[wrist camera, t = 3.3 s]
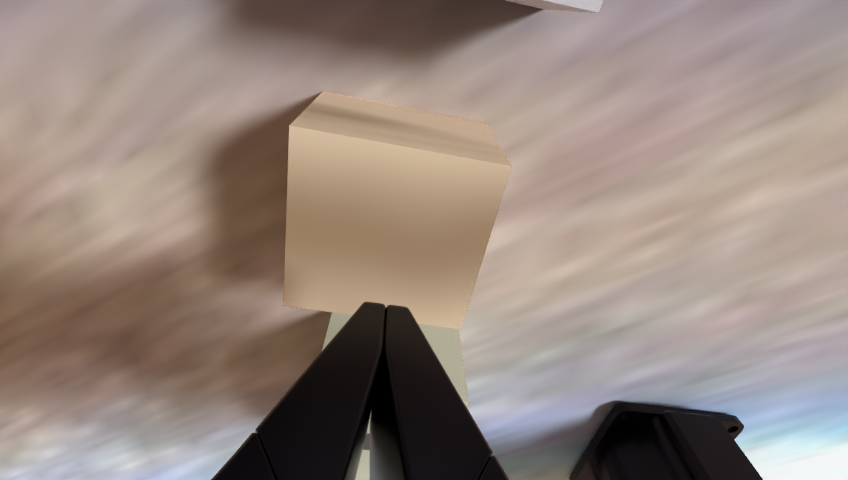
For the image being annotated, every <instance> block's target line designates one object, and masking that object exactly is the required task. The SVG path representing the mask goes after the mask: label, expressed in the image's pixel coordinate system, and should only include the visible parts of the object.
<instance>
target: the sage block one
mask: <svg viewBox="0 0 848 480" xmlns="http://www.w3.org/2000/svg"><path fill="white" fill-rule="evenodd" d="M351 316H352V315H349V314H341V313H334V312H332V314H331V318H330V322H329V325H328V329H327V333H326V337H325V341H324V345H323V349H324V348H325V347H326V346H327V345H328V343H329V342H330V341H331V340H332V339H333V338H334V336H335V335H336V334H337V333H338V332H339V331H340V329H341V328H342V327H343V326H344V325H345V323H346V322H347V321H348V320H349V319H350V318H351ZM418 325H419V327H420V329H421V330H422V332H423V334H424V335H425V337H426V339H427V341H428V342H429V344H430V346H431V347H432V349H433V351H434V352H435V354H436V356H437V358H438V359H439V361H440V363H441V364H442V366H443V368H444V370H445V371H446V373H447V375H448V376H449V378H450V380H451V382H452V383H453V385H454V387H455V388H456V390H457V392H458V394H459V395H460V397H461V399H462V400H463V402H464V404H465V406H466V407H467V405H468V402H469V399H468V392H467V385H466V377H465V370H464V363H463V356H462V349H461V342H460V334H459V329H454V328H446V327H439V326H431V325H424V324H418ZM323 349H322V351H323ZM370 416H371V414H370ZM369 436H370V419H369V424H368V429H367V433H366V438H365V442H364V446H363V450H362V454H361V458H360V462H359V466H358V470H357V474H356V478H355V480H370V442H369V441H370V440H369Z"/></svg>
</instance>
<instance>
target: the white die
mask: <svg viewBox="0 0 848 480" xmlns="http://www.w3.org/2000/svg"><path fill="white" fill-rule="evenodd" d="M505 1H509V2H514V3H518V4H522V5H527V6H531V7H536V8H540V9H547V10H563V11H579V12H595V13H599V10H600V7H601V4H602V2H603V0H505Z"/></svg>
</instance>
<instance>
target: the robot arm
mask: <svg viewBox="0 0 848 480" xmlns="http://www.w3.org/2000/svg"><path fill="white" fill-rule="evenodd" d="M370 414H371V416H370ZM369 419H370V436H369V440H370V441H369V442H370V480H509V479H508V477H507V475H506V474H505V472H504V470H503V469H502V467H501V465H500V463H499V462H498V460H497V458H496V457H495V456H492V450H491V448H490V447H489V445H488V443H487V441H486V440H485V438H484V436H483V435H482V433H481V431H480V429H479V428H478V426H477V424H476V423H475V421H474V419H473V417H472V416H471V414H470V412H469V411H468V409H467V407H466V406H465V404H464V402H463V400H462V399H461V397H460V395H459V394H458V392H457V390H456V388H455V387H454V385H453V383H452V382H451V380H450V378H449V376H448V375H447V373H446V371H445V370H444V368H443V366H442V364H441V363H440V361H439V359H438V358H437V356H436V354H435V352H434V351H433V349H432V347H431V346H430V344H429V342H428V341H427V339H426V337H425V335H424V334H423V332H422V330H421V329H420V327H419V325H418V323H417V322H416V320H415V318H414V317H413V315H412V313H411V311H410V310H409V309H408V308H407V307H404V306H397V305H387V307H385V305H384V304H382V303H375V302H364V303H363V304H362V305H361V306H360V307H359V308H358V309H357V311H356V312H355V313H354V314H353V315H352V316H351V318H350V319H349V320H348V321H347V322H346V323H345V325H344V326H343V327H342V328H341V329H340V331H339V332H338V333H337V334H336V335H335V336H334V338H333V339H332V340H331V341H330V342H329V343H328V345H327V346H326V347H325V348H324V349H323V351H322V352H321V353H320V354H319V355H318V356H317V358H316V359H315V360H314V361H313V362H312V363H311V365H310V366H309V367H308V368H307V369H306V371H305V372H304V373H303V374H302V375H301V376H300V378H299V379H298V380H297V381H296V382H295V383H294V385H293V386H292V387H291V388H290V389H289V391H288V392H287V393H286V394H285V395H284V396H283V398H282V399H281V400H280V401H279V402H278V403H277V405H276V406H275V407H274V408H273V409H272V411H271V412H270V413H269V414H268V415H267V416H266V418H265V419H264V420H263V421H262V422H261V423H260V425H259V426H258V427H257V428H256V433H252V434H251V435H250V436H249V437H248V438H247V440H246V441H245V442H244V443H243V444H242V445H241V447H240V448H239V449H238V450H237V451H236V453H235V454H234V455H233V456H232V457H231V458H230V459H229V460H228V462H227V463H226V464H225V465H224V466H223V467H222V468H221V469H220V470H219V472H218V473H217V474H216V475H215V476H214V477H213V478H212V479H211V480H355V478H356V474H357V470H358V466H359V462H360V458H361V454H362V450H363V446H364V442H365V438H366V433H367V429H368V424H369ZM743 428H744V425H743V424H742V423H741V421H740V420H739V419H738V418H737V417H736V416H733V415H724V414H716V413H707V412H698V411H690V410H681V409H672V408H663V407H655V406H646V405H637V404H629V403H622V404H618V405H616V406H615V407H614V408H613V409H612V410H611V412H610V413H609V415H608V417H607V418H606V420H605V421H604V423H603V425H602V426H601V428H600V429H599V431H598V432H597V434H596V436H595V437H594V439H593V440H592V442H591V444H590V445H589V447H588V448H587V450H586V452H585V453H584V455H583V456H582V458H581V460H580V461H579V463H578V464H577V466H576V468H575V469H574V471H573V472H572V474H571V476H570V478H569V480H763V479H762V478H761V476H760V475H759V473H758V472H757V471H756V469H755V468H754V467H753V465H752V464H751V463H750V461H749V460H748V458H747V457H746V456H745V454H744V453H743V452H742V450H741V449H740V447H739V446H738V445H737V443H736V442H735V441H734V439H735V438H736V437H737V436H738V435H739V434H740V433H741V431H742V430H743Z"/></svg>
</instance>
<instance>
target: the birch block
mask: <svg viewBox="0 0 848 480" xmlns="http://www.w3.org/2000/svg"><path fill="white" fill-rule="evenodd" d="M511 167H512V166H511V164H510V162H509V161H508V159H507V157H506V155H505V154H504V152H503V150H502V149H501V147H500V145H499V144H498V142H497V140H496V138H495V137H494V135H493V133H492V132H491V130H490V128H489V127H488V125H487V123H485V122H480V121H474V120H469V119H464V118H459V117H454V116H449V115H443V114H438V113H433V112H428V111H423V110H417V109H412V108H407V107H402V106H397V105H391V104H386V103H381V102H376V101H371V100H366V99H360V98H355V97H350V96H345V95H340V94H334V93H329V92H324V91H323V92H322V93H321V94H320V95H319V96H318V97H317V98H316V99H315V100H314V101H313V102H312V103H311V104H310V105H309V106H308V107H307V108H306V109H305V110H304V111H303V112H302V113H301V114H300V115H299V116H298V117H297V118H296V119H295V120H294V121H293V122H292V123H291V124H290V125H289V146H288V177H287V207H286V238H285V269H284V299H283V306H289V307H296V308H304V309H311V310H319V311H326V312H334V313H341V314H349V315H353V314H354V313H355V312H356V311H357V309H358V308H359V307H360V306H361V305H362V304H363V303H364V302H375V303H382V304H384V305H385V307H387V305H397V306H404V307H407V308H408V309H409V310H410V311H411V313H412V315H413V317H414V318H415V320H416V322H417V323H418V324H424V325H431V326H439V327H446V328H454V329H461V327H462V324H463V321H464V317H465V314H466V311H467V308H468V305H469V302H470V298H471V295H472V292H473V289H474V286H475V282H476V279H477V276H478V273H479V270H480V266H481V263H482V260H483V257H484V254H485V250H486V247H487V244H488V241H489V238H490V234H491V231H492V228H493V225H494V222H495V218H496V215H497V212H498V209H499V206H500V202H501V199H502V196H503V193H504V190H505V187H506V183H507V180H508V177H509V174H510V171H511Z"/></svg>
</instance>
